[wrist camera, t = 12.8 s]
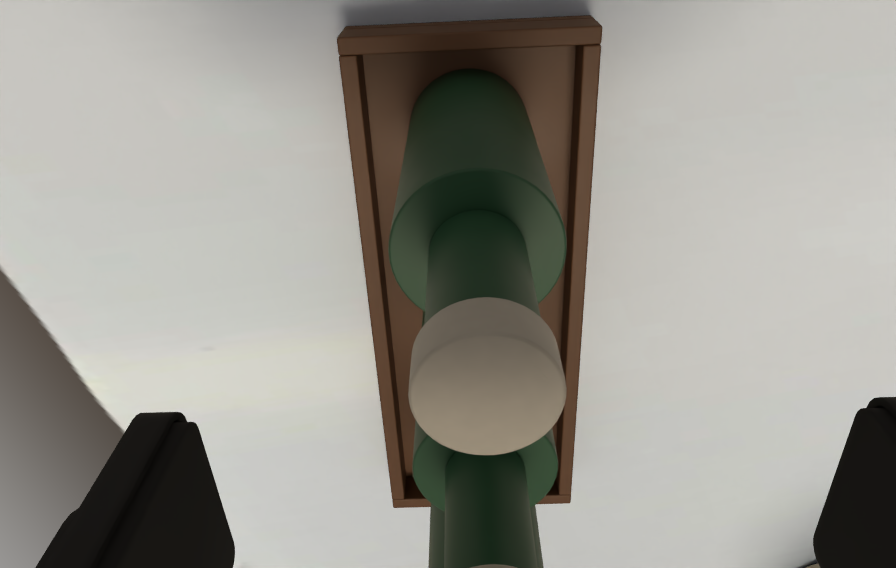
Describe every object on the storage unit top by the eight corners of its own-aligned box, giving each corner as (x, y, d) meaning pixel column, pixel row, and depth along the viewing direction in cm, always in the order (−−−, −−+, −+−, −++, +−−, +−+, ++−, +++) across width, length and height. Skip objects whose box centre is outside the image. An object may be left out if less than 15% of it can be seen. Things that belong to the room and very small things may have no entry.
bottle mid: (404, 280, 29) (363, 625, 15) (497, 234, 28) (540, 562, 14) (455, 354, 31) (458, 717, 17) (544, 313, 30) (620, 669, 16)
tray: (345, 26, 24) (336, 37, 22) (591, 14, 24) (602, 25, 22) (396, 476, 35) (393, 508, 34) (564, 471, 35) (570, 503, 33)
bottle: (387, 105, 25) (312, 360, 12) (493, 44, 24) (547, 247, 10) (446, 202, 27) (440, 516, 14) (547, 149, 26) (650, 434, 12)
